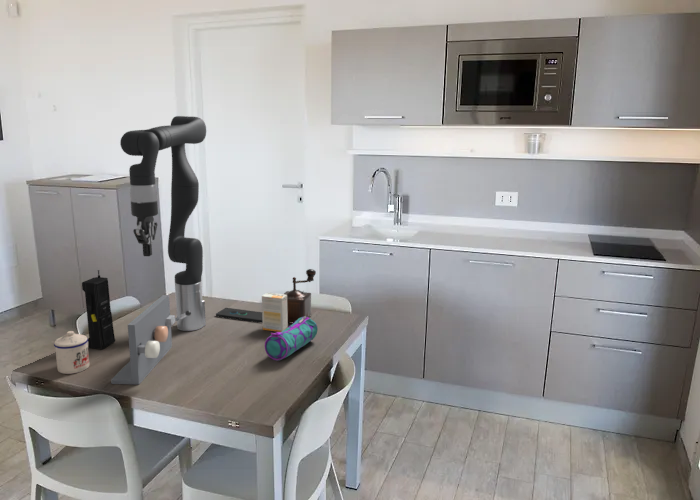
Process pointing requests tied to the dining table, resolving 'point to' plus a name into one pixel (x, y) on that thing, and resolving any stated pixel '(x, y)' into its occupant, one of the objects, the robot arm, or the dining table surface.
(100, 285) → the portable radio
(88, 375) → the dining table surface
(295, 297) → the manual coffee grinder
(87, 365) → the teacup with lid
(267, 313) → the supplement box
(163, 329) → the terracotta button
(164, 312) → the control panel
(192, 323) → the robot arm
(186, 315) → the toggle lever
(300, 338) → the pencil case
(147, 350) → the cream button
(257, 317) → the smart home device
